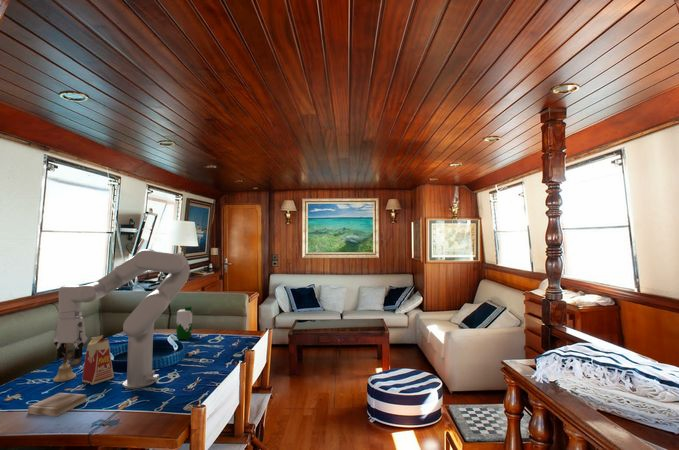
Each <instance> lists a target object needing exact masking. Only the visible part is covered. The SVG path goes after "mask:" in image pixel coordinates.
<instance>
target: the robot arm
mask: <svg viewBox="0 0 679 450" xmlns="http://www.w3.org/2000/svg"><path fill="white" fill-rule="evenodd" d="M147 271H150V272H157V273H164V274H165V273H167V276H166V277H165V278H164V279H163V280H162V281H161V283H160V284H159V285H158V286H157V287H156V288H155V289H154V291H152V292H150V293H149V294H148V295H146V296H145V297H144V298H143V299H142V300H141V301H140V303H139V304H138V305H137V306H136V307H135V309H133V311H132V312H131V313H130V314H129V316H127V318H126V319H125V320H124V322H123V325H122V329H123V333H124V334H125V335H126V336H127V337H128V340H127V341H128V342H127V343H128V344H127V363H126V364H127V368H126V379H125V380H124V381H123V382H122V387H123V388H124V389H131V390H132V389H139V388H144V387H149V386H151V385H153V384H154V383H155V382H157V381H158V380H159V378H160V375H159V374H155V371H154V370H153V349H154V348H153V346H154V345H153V344H154V330H155V322H156V321H157V320H158V319H159V317H160V316H161V315H162V314H163V313H164V312H165V311H166V310H167V308H168V307H169V306H170V304H171V302H172V301H173V300H174V299H175V297H176V296H177V295H178V294H179V292H180V291H181V289H183V288H184V286H185V284H186V283H187V282H188V280H189V277H190V272H191V269H190V264H189V261H188V258H186V256H185V255H183V254H182V253H177V252H176V253H169V252H162V251H157V250H156V251H155V250H154V249H151V248H148V249H147V248H145V249H141V250H139V251H137V252H136V253H135V254H134V255H133V256H132V257H130V258H128V259H126V260H125V261H123V262H121V263H119V264H118V265H116V266H114V268H113V270H112V271H110V273H108V274H106V275H105V276H103V277H101V278H100V279H97V280H95V281H94V282H92V283H91V282H90V283H88V284H85V285H78V284H71V285H63V286H61V287H59V289H58V319H57V323H56V329H55V335H54V336H53V337H52V338H51V340H52V341H53V343H54V345H55V346H56V347H55V348H56V350H57V359H59V360H60V359H63V357H64V355H63V354H62V353H64V354H65V353H66V347H64V346H65V344H66V343H67V344H73V346H74V347H75V349H73V351H74V359H78V358H81V359H82V357H83V348H84V347H85V345H86V343H87V342H88V340H89V337H88V336H86V328H85V326H86V325H85V321H84V317H82V315H83V312H82V303H93V302H95V301H97V300H100V299H102V298H103V297H106V296H107V295H108V294H110V293H112V292H113V291H115V290H117V289H118V288H120V287H122V286H123V285H125V284H127V283H129V282H131V281H132V280H134V279H136V278H138V277H139V276H141V275H142V274H144V273H146V272H147Z"/></svg>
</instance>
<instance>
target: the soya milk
mask: <svg viewBox="0 0 679 450" xmlns="http://www.w3.org/2000/svg"><path fill="white" fill-rule="evenodd" d="M192 331H193V308H192V305H191V306H190V305H188V306H185V307H184V309H179V310H177V311H176V339H186V340H190V339H191V338H192V333H193V332H192ZM189 338H190V339H189Z"/></svg>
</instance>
